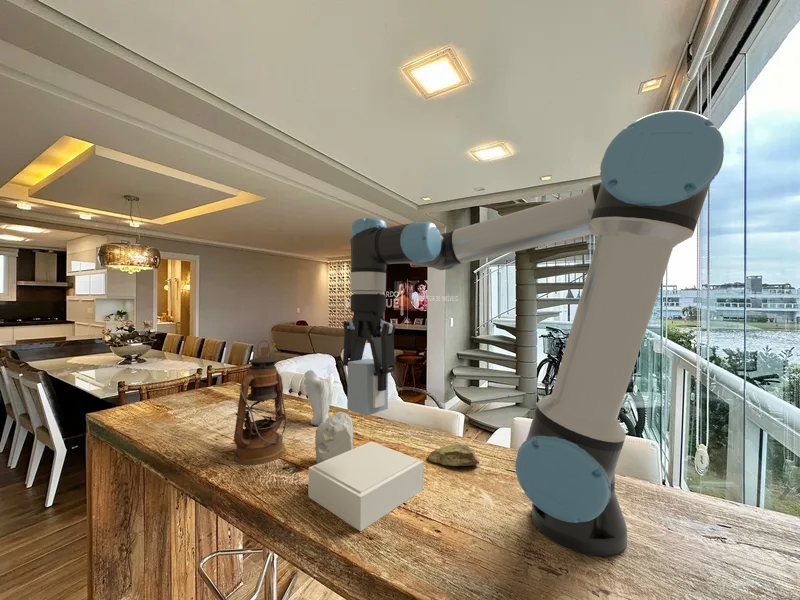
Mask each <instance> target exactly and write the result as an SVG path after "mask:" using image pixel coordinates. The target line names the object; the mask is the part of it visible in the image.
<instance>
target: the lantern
mask: <svg viewBox="0 0 800 600" xmlns="http://www.w3.org/2000/svg"><path fill="white" fill-rule="evenodd" d="M262 342H265V343H267V347H268V348H267V354H266V355H263V356H260V355H259V345H260V343H262ZM256 350H257V351H256V352H257V357H256V358H251V359H248V363H250V366H249V367H247V368H248V370H247V375H246V376H245V377H244V379H243V380H242V382H241V384H240V386H239V391H240V392H239V400H238V406H237V412H236V413H235V415H236V421H235V429H234V433H233V441H234V445H235V446H236V449H235V452H234V454H233V456H232V460H233V462H235V463H236V464H239V465H244V466H245V465H246V466H256V465H263V464H266V463H267V464H268V463H270V462H273V461H276V460H277V459H280V458H281V457H283V456H284V454H285V453H286V451H287V450H286V446H285V445H284V444H283V443H284V442H283V437H284V436H283V435H284V432H285V430H286V425H287V419H288V418H287V412H286V409H285V403H284V394H283V393H284V384H283V378H282V376H281V374H280V372H279V371H278V369H277V366H276V365H275V364H276V362H277V361H278V360H279V359H278V358H276V357H274V356H273V357H272V356H271V357H270V356H268V355H269V351H270V345H269V342H268V341H267V340H260V341H259V342H258V344H257V348H256ZM249 388H250V393H249ZM270 400H274V407H275V411H274V412H272V411H270V410H268V411H267V410H266V409H261V408H258V407H254V406H257V405H258V404H260V403H264V402H267V401H270ZM247 401H249V402H250V401H251V402H254V403H253V404H251V405H249V403H248V402H247ZM256 411H260V412H266V413H269V414H271V415H273V416H267V415H261V414H260V416H261V417H262V418H263V419H256V420H255V419H254V414H257V415H259V413H257V412H256ZM253 413H254V414H253ZM250 416H251V417H250ZM251 419H252V420H251ZM283 421H284V426H283V430H282V433H280V432H277V431H278V430H279V428H280V426H281V425H282V423H283ZM244 427H245V428H244Z"/></svg>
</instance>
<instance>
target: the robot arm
mask: <svg viewBox="0 0 800 600" xmlns="http://www.w3.org/2000/svg"><path fill="white" fill-rule="evenodd" d="M724 143H725V142H724V139H723V135H722V133H721V131H720V129H719V128H718V127H717V126H716V125H715V124H714V123H713V122H712V121H711V120H709V119H708V118H707V117H706V116H703V115H701V114H699V113H696V112H693V111H688V110H679V109H678V110H676V109H675V110H664V111H663V110H662V111H659V112H654V113H651V114H648V115H645V116H644V117H641V118H639V119H637V120H635V121H634V122H631V124H629V125H628V126H625V127H624V128H623V129H622V130H620V131H619V133H617V134H616V136H615V137H613V139H612V140H611V141H610V143H609V145H608V146H607V148H606V150H605V151H604V154H603V157H602V159H601V163H600V167H599V168H600V172H599V175H600V179H601V181H597V182H594V183H590V184H589V185H588V187H586V189H585V191H584V192H581V193H578V194H574V195H570V196H567V197H563V198H560V199H557V200H553V201H549V202H546V203H542V204H540V205H535V206H532V207H528V208H525V209H522V210H518V211H515V212H511V213H509V214H505V215H501V216H498V217H494V218H490V219H487V220H483V221H481V222H477V223H474V224H469V225H467V226H463V227H460V228H455V229H453V230H451V231H446V232H443V233H440V231H439V228H437V226H436V225H435V223H434V222H431V221H414V222H410V223H405V224H399V225H391V226H388V225H387V223H386V221H385V220H383V219H380V218H376V217H375V218H374V217H368V218H366V217H365V218H364V217H361V218H357V219H355V220H354V221H353V222H352V224H351V229H350V233H351V234H350V239H349V240H350V282H349V283H350V285H349V286H350V287H349V288H350V292H352V293H353V294H351V295H350V301H349V302H350V305H349V308H350V312H352V313H353V315H352V319H351V320H344V321H343V323H342V325H343V329H344V338H343V356H342V365H343V366H344V367H345V366H346V367H348V362H351V361H357V360H363V356H364V351H365V347H366V343H367V342H368V343H369V345H370V351H371V356H372V359H373V361H374V366H375V371H376V373H374V375H373V407H374V408H377V407H380V406H383V405H385V390H386V388H387V374H388V375H389V373H394V372H395V370H396V362H395V359H396V358H395V338H394V336H395V335H394V334H395V329H396V324H395V323H394V322H391V323H390V322H388V321H386V320H385V317H384V313H385V312H386V310H387V296H386V295H385V294H384V293H385V292H386V290H387V265H391V264H392V265H393V264H394V265H395V264H411V265H415V266H416V265H417V266H421V267H428V268H432V269H434V270H439V271H447V270H453V269H455V268H456V267H457V266H459V265H461V264H465V263H469V262H473V261H477V260H482V259H487V258H492V257H497V256H500V255H501V256H502V255H505V254H509V253H515V252H519V251H525V250H528V249H533V248H537V247H541V246H546V245H551V244H555V243H559V242H564V241H568V240H573V239H578V238H583V237H586V236H587V237H588V236H591V235H593V236H595V237H597V240H596V243H595V246H594V250H593V253H592V256H591V257H592V258H591V261H590V263H589V266H588V267H589V268H588V271H587V273H586V277H585V280H584V283H583V287H582V291H581V293H580V298H579V299H578V304H577V307H576V311H575V314H574V318H573V320H572V325H571V328H570V330H569V334H568V338H567V342H566V345H565V348H564V350H563V351H564V352H563V355H562V358H561V361H560V365H559V368H558V371H557V376H556V379H555V381H554V385H553V388H552V392H551V394H547V395H545V396H544V397H542V398H540V399H538V401H537V403H536V408H535V411H534V413H533V417H532V420H531V424H530V426H529V427H530V428H529V430H528V432H527V433H528V434H527V436H526V439H525V441H524V442H522V443H521V446H520V447H519V448H518V450H517V454H516V459H515V466H514V467H515V473H516V477H517V481H518V484H519V485H520V487H521V489H522V490H523V492H524V494H525V496H526V497H527V498H528V499H529V500H530V502H531V518H532V522H533V524H534V525H535V527H536V529H537V530H538V531H539V532H540V533H542V535H544V537H546V538H547V539H549V540H550V541H551V542H553V543H555V544H557V545H559V546H560V547H563V548H565V549H567V550H569V551H572V552H575V553H578V554H582V555H588V556H592V557H593V556H594V557H611V556H615V555H618V554H620V553H622V552H623V551H624V550H625V549H626V548H627V545H628V528H627V527H628V526H627V524H626V521H625V517H624V515H623V512H622V509H621V506H620V503H619V501H618V500H619V499H618V497H617V494H616V488H615V487H616V485H615V483H616V479H615V478H616V477H615V476H616V475H615V474H616V469H617V468H616V467H617V465H618V461H619V458H620V455H621V453H622V452H621V451H622V449H623V446H624V442H625V440H626V438H627V437H626V436H627V435H626V432H625V430H624V429H623V427H622V425H621V424H620V421H619V420H618V418H619V415H620V412H621V408H622V405H623V402H624V399H625V397H626V396H625V395H626V393H627V390H628V387H629V385H630V384H629V383H630V381H631V378H632V374H633V372H634V369H635V365H636V362H637V360H638V356H639V354H640V353H639V352H640V351H641V346H642V343H643V341H644V337H645V334H646V332H647V329H648V325H649V323H650V319H651V316H652V313H653V310H654V307H655V304H656V301H657V299H658V295H659V291H660V289H661V286H662V282H663V279H664V277H665V273H666V270H667V267H668V265H669V261H670V258H671V254H672V253H673V249H674V248H675V247H676V246H678V245H680V244H681V243H683V242H685V241H686V240H688V239H690V238H692V237H693V236H694V233H695V229H696V227H697V224H698V221H699V218H700V216H701V215H700V214H701V212H702V210H703V206H704V204H705V200H706V197H707V194H708V191H709V189H710V185H711V182H713V180H714V179H715V178H716V176H718V174H719V172H720V171H721V169H722V166H723V162H724V157H725V153H724V150H725V145H724ZM381 367H382V368H381Z"/></svg>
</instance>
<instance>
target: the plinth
mask: <svg viewBox="0 0 800 600" xmlns="http://www.w3.org/2000/svg"><path fill="white" fill-rule="evenodd" d="M307 479H308V484H307V485H308V487H307V488H308V492H307V493H308V495H307V496H308V498H310V499H311V500H312V501H314V502H315V503H317V504H318V505H320V506H321V507H323V508H324V509H325V510H328V511H329V512H330V513H332V514H334V515H335V516H336V517H338V518H339V519H341V520H342V521H344V522H345V523H347V524H348V525H350V526H351V527H353V528H354V529H356V530H358V531H360V532H362V531H364V530H365V529H367V528H368V527H370V526H371V525H372V524H374V523H376V522H377V521H379V520H380V519H382V518H383V517H384V516H386V515H387V514H389V513H391V512H392V511H394V510H395V509H397V508H398V507H399V506H401V505H402V504H405V502H407V501H408V500H410V499H411V498H413V497H414V496H416V495H417V494H419V493H420V492H422V491H424V461H422V460H420V459H418V458H416V457H412V456H410V455H408V454H405V453H403V452H399V451H397V450H395V449H392V448H389V447H387V446H384V445H382V444H379V443H376V442H374V441H372V440H371V441H369V442H367V443H365V444H362V445H359V446H357V447H354V448H353V449H352V450H350V451H347V452H345V453H343V454H340V455H338V456H335V457H333V458H331V459H328V460H326V461H323V462H321V463H319V464H317V463H316V464H314V465H312V466H309V467H308V478H307Z"/></svg>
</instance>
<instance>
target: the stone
mask: <svg viewBox="0 0 800 600" xmlns="http://www.w3.org/2000/svg"><path fill="white" fill-rule="evenodd" d="M353 424H354V423H353V419H352V418H351V416H350V415H349V414H347V413H345V412H343V411H337V412H335V413H334V414H333V415H331V416H330V415H329V417H328V418H327V419H326V421H325V423H322V424H319V425H317V426H318V427H317V428H316V430H315V461H316V464H319V463H321V462H323V461H326V460H328V459H331V458H333V457H335V456H338V455H340V454H343V453H345V452H347V451H350V450H352V449H354V444H353V443H354V442H353V440H354V431H355V430H354V425H353Z"/></svg>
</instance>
